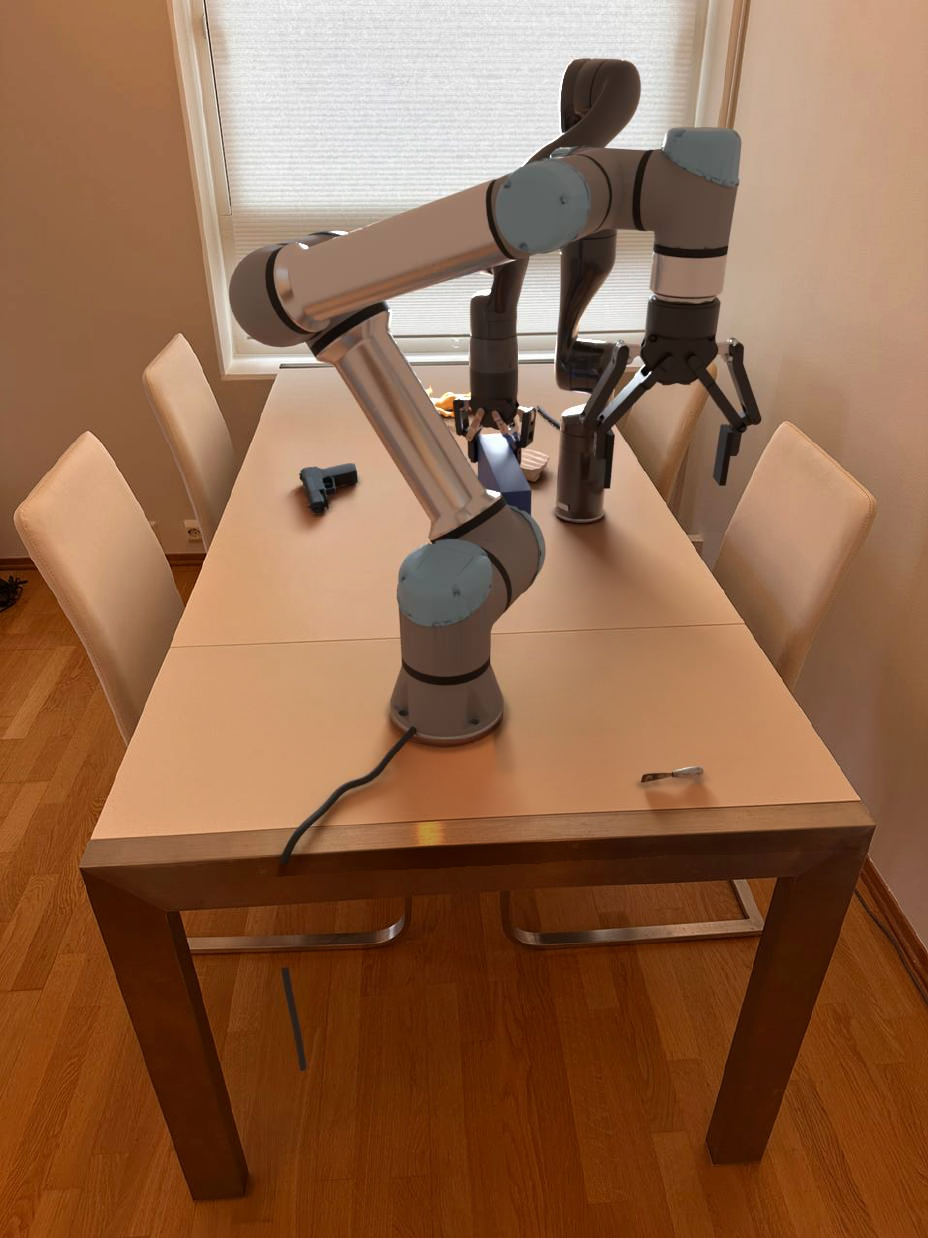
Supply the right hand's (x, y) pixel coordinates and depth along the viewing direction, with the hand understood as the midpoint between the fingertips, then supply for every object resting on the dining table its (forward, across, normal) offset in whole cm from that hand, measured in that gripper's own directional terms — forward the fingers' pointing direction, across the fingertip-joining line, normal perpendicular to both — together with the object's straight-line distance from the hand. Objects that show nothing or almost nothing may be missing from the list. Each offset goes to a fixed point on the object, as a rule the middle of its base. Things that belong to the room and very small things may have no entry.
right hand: (494, 464), depth 145 cm
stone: (+20, +16, -41) cm, 48 cm away
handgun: (+19, +43, -11) cm, 49 cm away
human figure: (+21, +49, -67) cm, 86 cm away
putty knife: (+18, -45, +37) cm, 61 cm away
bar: (+5, -6, +8) cm, 10 cm away
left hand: (-14, -36, +24) cm, 45 cm away
